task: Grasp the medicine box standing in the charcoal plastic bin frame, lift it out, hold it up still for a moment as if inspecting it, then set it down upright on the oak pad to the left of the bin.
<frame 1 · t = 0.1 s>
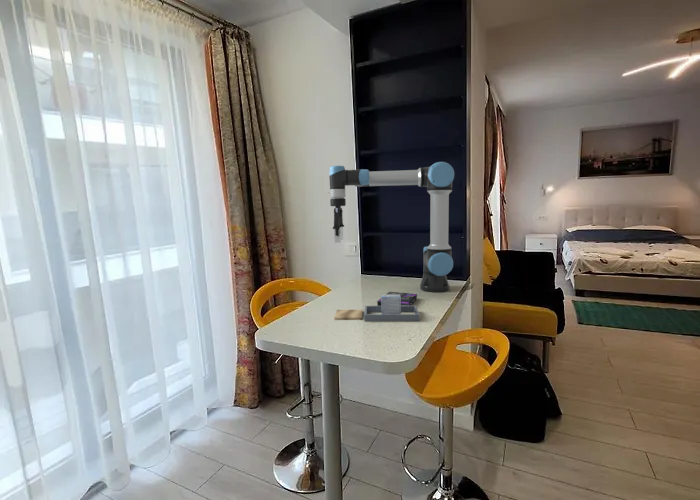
hand: (339, 241, 182), 28 cm above the table, fingers open, 13 cm apart
bin: (391, 315, 150), on the table
medicine box: (391, 316, 150), resting in bin
box: (398, 304, 170), on the table
pad: (349, 315, 152), on the table
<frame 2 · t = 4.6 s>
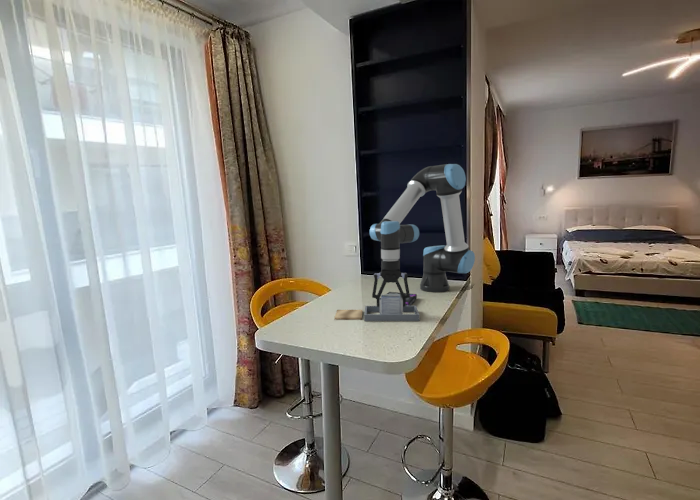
hand: (391, 314, 150), 1 cm above the table, fingers closed on medicine box, 8 cm apart
medicine box: (391, 316, 150), resting in bin, touching gripper
everything else where it was.
when the fingers open (3 cm above the table, at t = 12.0 s): medicine box drops 2 cm, resting on pad.
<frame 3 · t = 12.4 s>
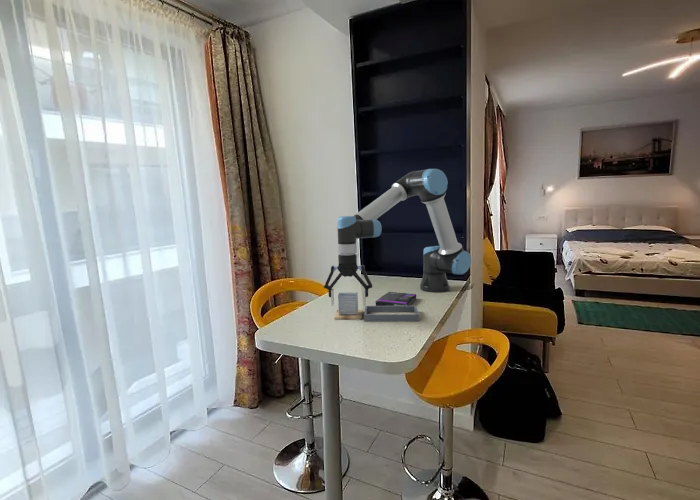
hand: (348, 304, 152), 5 cm above the table, fingers open, 13 cm apart
medicine box: (348, 314, 152), point 1 cm above the table, touching pad
everything else where it was.
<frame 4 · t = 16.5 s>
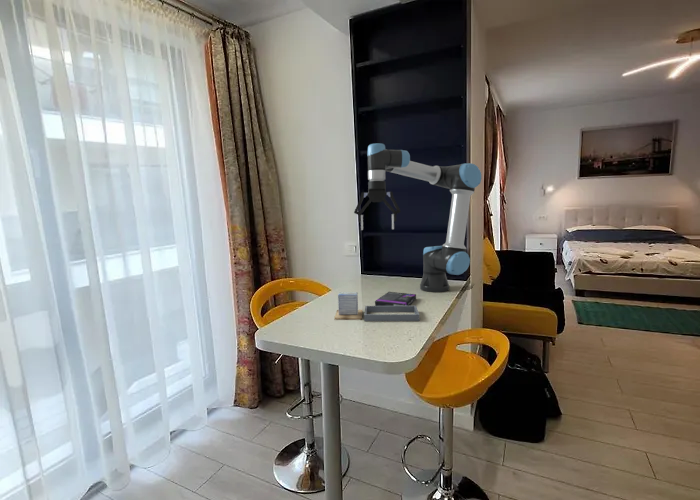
hand: (377, 229, 161), 35 cm above the table, fingers open, 13 cm apart
nothing on the table moved.
at the end: medicine box inside the target area on the pad (0.2 cm from its centre), point 0.6 cm above the pad's base; medicine box tilted 0°; the gripper is holding nothing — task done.
